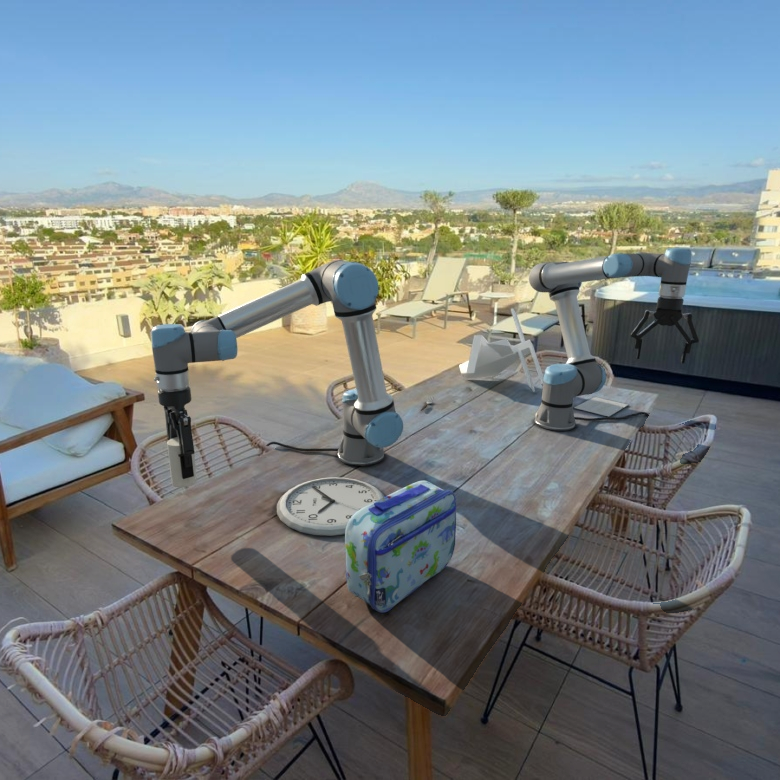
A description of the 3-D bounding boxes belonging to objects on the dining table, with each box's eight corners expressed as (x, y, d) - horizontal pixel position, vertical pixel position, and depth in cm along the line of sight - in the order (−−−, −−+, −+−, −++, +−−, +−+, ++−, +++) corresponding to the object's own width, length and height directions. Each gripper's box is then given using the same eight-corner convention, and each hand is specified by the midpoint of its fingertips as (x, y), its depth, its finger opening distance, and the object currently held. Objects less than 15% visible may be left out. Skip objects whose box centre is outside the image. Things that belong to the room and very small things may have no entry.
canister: (193, 474, 141) (188, 434, 137) (200, 483, 136) (196, 442, 133) (169, 480, 137) (164, 439, 134) (175, 489, 133) (170, 447, 129)
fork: (417, 411, 216) (418, 406, 216) (428, 400, 231) (428, 395, 230) (423, 412, 215) (424, 407, 215) (434, 400, 230) (434, 396, 229)
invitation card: (608, 416, 214) (573, 407, 224) (608, 416, 214) (573, 408, 224) (628, 404, 229) (594, 396, 238) (628, 405, 229) (594, 397, 238)
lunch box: (374, 626, 100) (375, 530, 93) (338, 598, 107) (337, 508, 101) (459, 568, 117) (465, 484, 111) (424, 547, 124) (427, 467, 118)
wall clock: (392, 527, 129) (268, 531, 127) (391, 533, 130) (269, 537, 127) (383, 473, 158) (282, 475, 155) (383, 478, 158) (282, 480, 156)
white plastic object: (480, 421, 262) (459, 398, 238) (462, 347, 285) (440, 320, 260) (552, 397, 250) (537, 370, 226) (527, 322, 272) (511, 290, 248)
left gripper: (147, 381, 134) (157, 463, 141) (170, 400, 120) (181, 490, 127) (177, 376, 138) (186, 456, 145) (202, 394, 124) (211, 482, 131)
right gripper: (629, 296, 172) (620, 358, 178) (716, 301, 163) (703, 367, 169) (629, 293, 178) (619, 354, 185) (712, 298, 169) (700, 361, 176)
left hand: (183, 472), depth 136 cm, fingers closed on canister, 6 cm apart
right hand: (659, 360), depth 177 cm, fingers open, 13 cm apart
